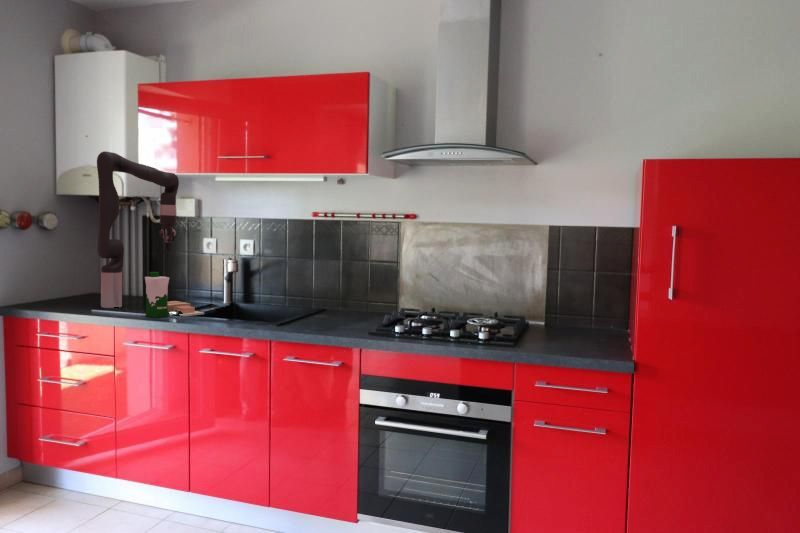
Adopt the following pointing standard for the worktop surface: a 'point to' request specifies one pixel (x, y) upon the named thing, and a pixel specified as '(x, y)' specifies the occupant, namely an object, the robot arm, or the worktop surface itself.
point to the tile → (184, 309)
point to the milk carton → (156, 295)
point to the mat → (192, 313)
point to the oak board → (176, 304)
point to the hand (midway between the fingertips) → (167, 250)
